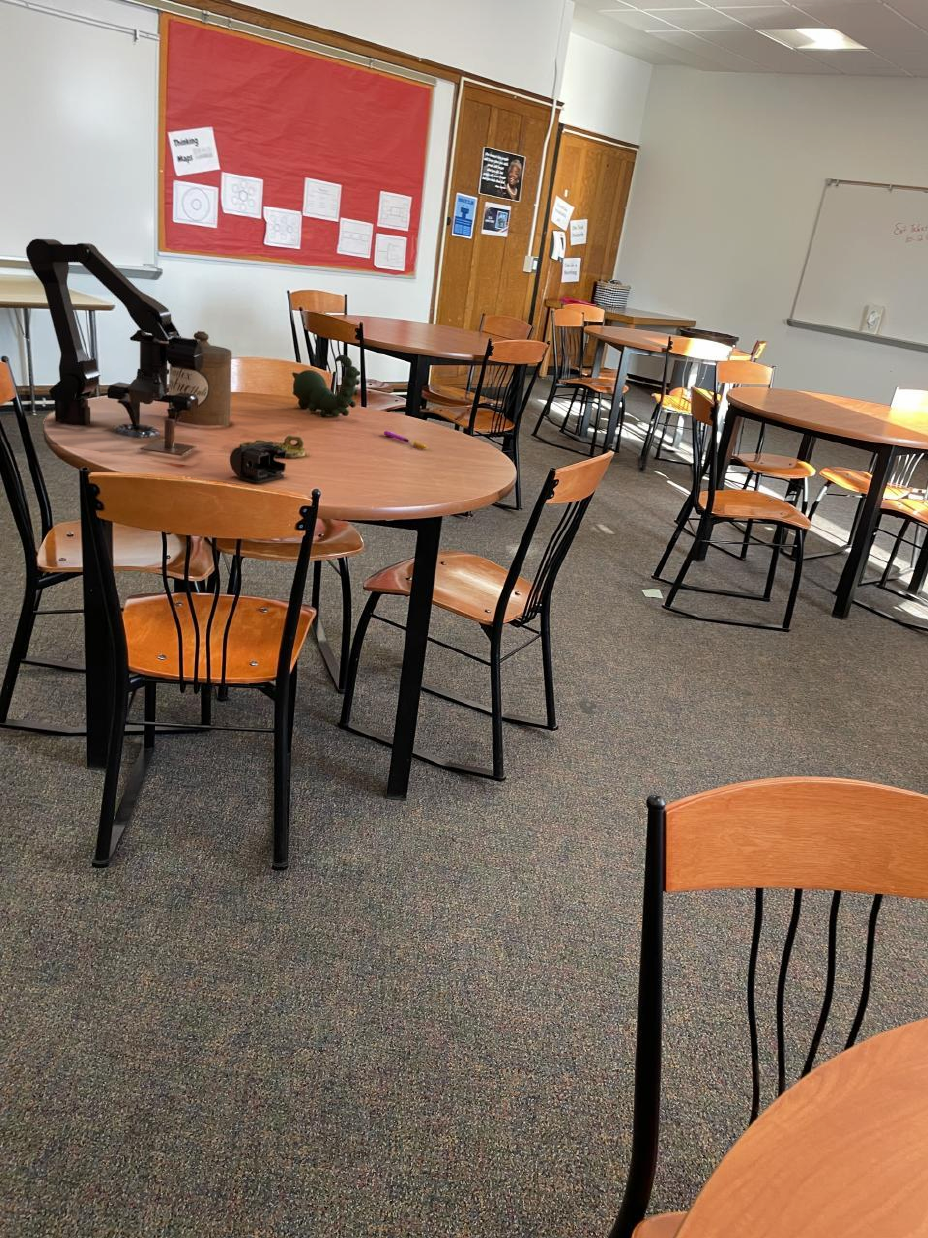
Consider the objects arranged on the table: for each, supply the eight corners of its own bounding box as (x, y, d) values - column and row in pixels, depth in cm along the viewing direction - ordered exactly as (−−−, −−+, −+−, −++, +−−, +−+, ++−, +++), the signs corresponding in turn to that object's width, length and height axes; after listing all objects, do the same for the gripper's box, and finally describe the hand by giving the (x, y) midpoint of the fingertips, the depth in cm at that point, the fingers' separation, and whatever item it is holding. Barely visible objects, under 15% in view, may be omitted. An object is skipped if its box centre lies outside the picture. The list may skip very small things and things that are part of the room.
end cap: (259, 469, 193) (261, 438, 191) (286, 477, 191) (288, 445, 188) (228, 476, 185) (229, 444, 182) (255, 484, 182) (257, 452, 179)
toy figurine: (359, 427, 256) (300, 400, 268) (370, 360, 248) (309, 336, 260) (335, 429, 249) (276, 401, 261) (346, 360, 241) (284, 335, 253)
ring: (106, 437, 199) (106, 428, 199) (124, 429, 208) (124, 420, 208) (148, 444, 199) (148, 435, 199) (165, 435, 208) (165, 427, 207)
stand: (140, 453, 191) (140, 419, 188) (156, 444, 200) (157, 412, 197) (181, 460, 191) (182, 426, 188) (196, 451, 199) (197, 419, 197)
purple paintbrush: (382, 434, 242) (424, 449, 233) (383, 429, 242) (426, 445, 233) (389, 435, 244) (431, 451, 235) (390, 431, 244) (432, 447, 235)
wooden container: (155, 417, 223) (156, 325, 215) (202, 413, 235) (204, 326, 227) (196, 431, 217) (199, 337, 208) (242, 426, 228) (246, 337, 220)
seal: (239, 459, 202) (306, 463, 207) (240, 439, 200) (308, 444, 204) (238, 445, 210) (302, 449, 214) (239, 425, 208) (304, 430, 212)
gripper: (95, 361, 190) (96, 434, 196) (181, 375, 190) (180, 448, 196) (118, 356, 200) (118, 425, 206) (200, 369, 200) (198, 438, 206)
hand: (153, 434), depth 203 cm, fingers open, 7 cm apart
